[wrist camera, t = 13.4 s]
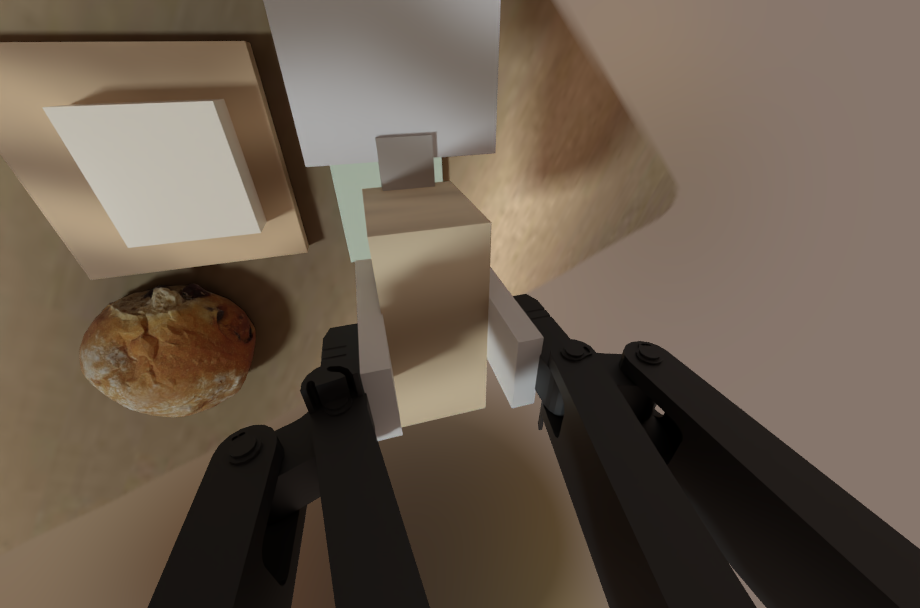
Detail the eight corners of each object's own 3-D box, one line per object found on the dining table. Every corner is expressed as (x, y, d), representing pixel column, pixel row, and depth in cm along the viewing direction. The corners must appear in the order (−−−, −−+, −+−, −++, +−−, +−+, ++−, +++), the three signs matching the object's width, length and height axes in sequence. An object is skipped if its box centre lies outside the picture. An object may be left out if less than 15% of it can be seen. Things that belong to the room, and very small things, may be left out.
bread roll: (117, 309, 28) (39, 405, 23) (138, 244, 22) (38, 354, 17) (245, 355, 33) (204, 441, 28) (289, 313, 27) (247, 412, 22)
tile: (42, 107, 16) (212, 100, 17) (70, 104, 17) (223, 98, 19) (128, 248, 20) (260, 232, 21) (144, 234, 21) (266, 221, 23)
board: (-55, 44, 16) (-80, 42, 15) (250, 42, 19) (244, 41, 18) (101, 271, 23) (90, 280, 22) (308, 245, 25) (307, 252, 24)
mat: (284, -45, 17) (282, -48, 17) (429, -39, 19) (432, -41, 18) (351, 258, 27) (351, 262, 26) (444, 246, 28) (446, 249, 28)
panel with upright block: (486, 329, 19) (524, 398, 15) (354, 353, 17) (356, 437, 13) (499, -112, 10) (603, -244, 6) (230, -138, 8) (120, -338, 4)
